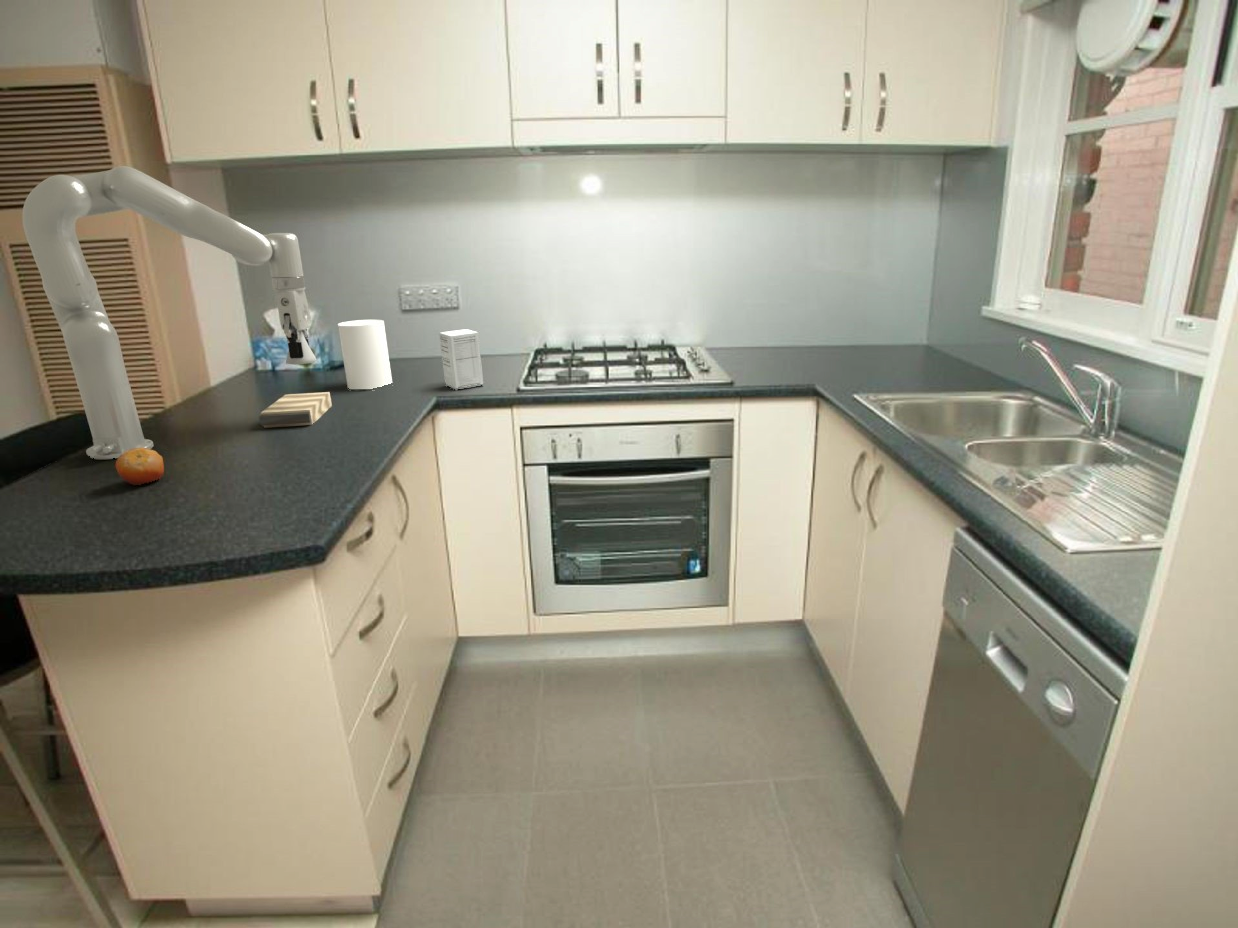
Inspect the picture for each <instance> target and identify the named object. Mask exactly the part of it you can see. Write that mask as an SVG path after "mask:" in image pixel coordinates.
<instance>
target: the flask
mask: <svg viewBox="0 0 1238 928" xmlns="http://www.w3.org/2000/svg"><path fill="white" fill-rule="evenodd" d="M291 330H296V328H291ZM294 334H295V333H294ZM295 336H296V334H295ZM299 339H300V342H301V343H302V349H303V358H290V354H289V350H288V352H287V356H286V360H285V364H287V365H305V364H312V363H315V362H317V361H318V359H317V358H316V356H315V354H314V352H313V351H312V349H311V347H310V344H309V345H308V343H307V341H306V340H305V337H304V334H303V331H302V330H299Z"/></svg>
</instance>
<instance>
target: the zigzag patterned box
mask: <svg viewBox="0 0 1238 928" xmlns="http://www.w3.org/2000/svg"><path fill="white" fill-rule="evenodd" d="M332 404H333V403H332V398H331V393H330V391H325V392H307V393H290V394H289V393H288V394H284V395H283V396H282V397H280V398H278V399H277V400H276V401H275V402H273V403H272V404H270V405H269V406H267V407H266V408H265V409H263V410H262V411H261V412H260V415H259V417H258V418H259V424H260V426H261V427H262V426H263V428H265V429H266V428H267V429H269V428H280V427H281V428H282V427H296V426H299V427H300V426H312V425H313V423H314V424H315V422H317V421H318V420H319V419H321V418H322V416H323V415H324V414H325V413H326V412H327V411H328V410H329V409H330V408H332V406H333V405H332Z"/></svg>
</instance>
